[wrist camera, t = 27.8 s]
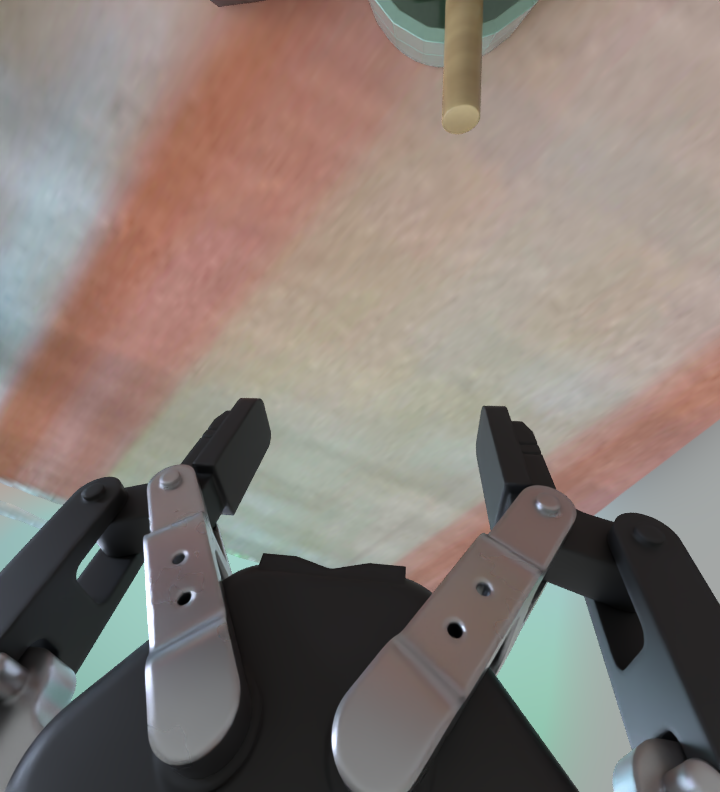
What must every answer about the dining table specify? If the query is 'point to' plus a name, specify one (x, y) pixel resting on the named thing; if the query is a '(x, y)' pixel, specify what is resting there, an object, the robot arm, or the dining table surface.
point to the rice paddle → (462, 65)
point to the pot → (442, 25)
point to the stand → (232, 2)
